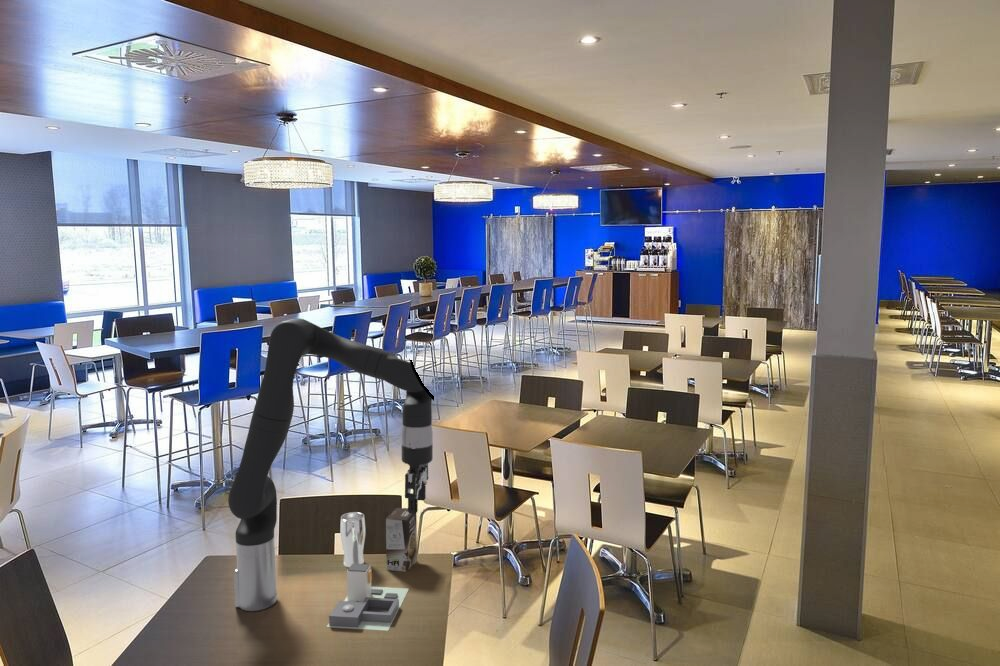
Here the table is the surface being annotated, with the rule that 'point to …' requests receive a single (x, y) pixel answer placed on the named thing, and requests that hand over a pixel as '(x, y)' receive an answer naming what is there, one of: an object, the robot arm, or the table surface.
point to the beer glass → (352, 537)
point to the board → (380, 608)
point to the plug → (359, 582)
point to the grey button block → (347, 614)
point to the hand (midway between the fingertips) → (417, 506)
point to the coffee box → (401, 540)
